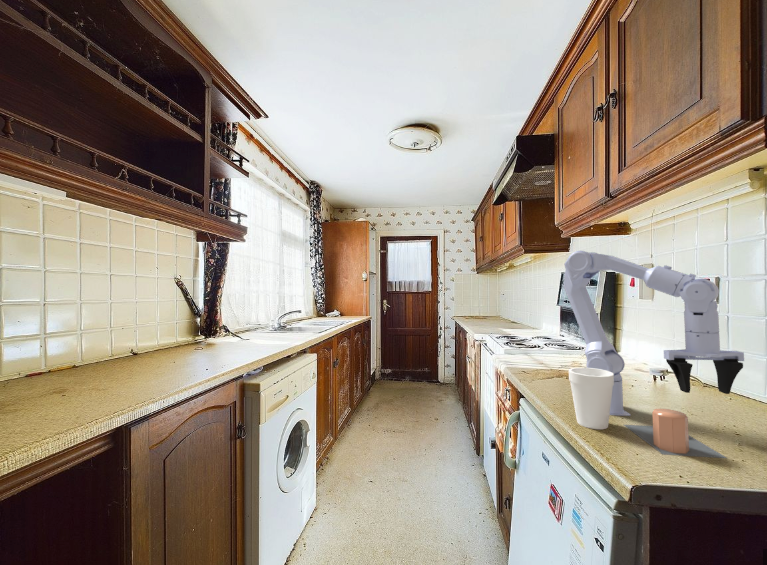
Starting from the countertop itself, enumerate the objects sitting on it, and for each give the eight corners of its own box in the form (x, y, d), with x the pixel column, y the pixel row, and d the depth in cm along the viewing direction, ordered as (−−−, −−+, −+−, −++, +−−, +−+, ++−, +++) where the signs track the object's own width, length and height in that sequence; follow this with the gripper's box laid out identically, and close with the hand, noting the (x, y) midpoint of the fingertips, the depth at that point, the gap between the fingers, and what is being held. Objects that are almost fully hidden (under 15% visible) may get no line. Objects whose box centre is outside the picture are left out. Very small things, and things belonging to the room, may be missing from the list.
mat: (623, 426, 81) (623, 424, 81) (675, 428, 79) (675, 426, 79) (662, 456, 67) (662, 454, 67) (727, 460, 65) (727, 458, 65)
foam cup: (564, 425, 82) (563, 372, 83) (576, 415, 89) (575, 365, 89) (610, 437, 76) (608, 378, 76) (620, 425, 82) (618, 371, 82)
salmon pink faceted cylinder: (649, 441, 72) (647, 408, 73) (676, 442, 72) (675, 409, 72) (665, 452, 67) (663, 417, 68) (694, 454, 66) (693, 418, 67)
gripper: (676, 333, 74) (679, 396, 74) (755, 334, 71) (758, 398, 71) (657, 330, 81) (659, 387, 81) (728, 330, 78) (731, 389, 78)
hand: (704, 392), depth 76 cm, fingers open, 7 cm apart
